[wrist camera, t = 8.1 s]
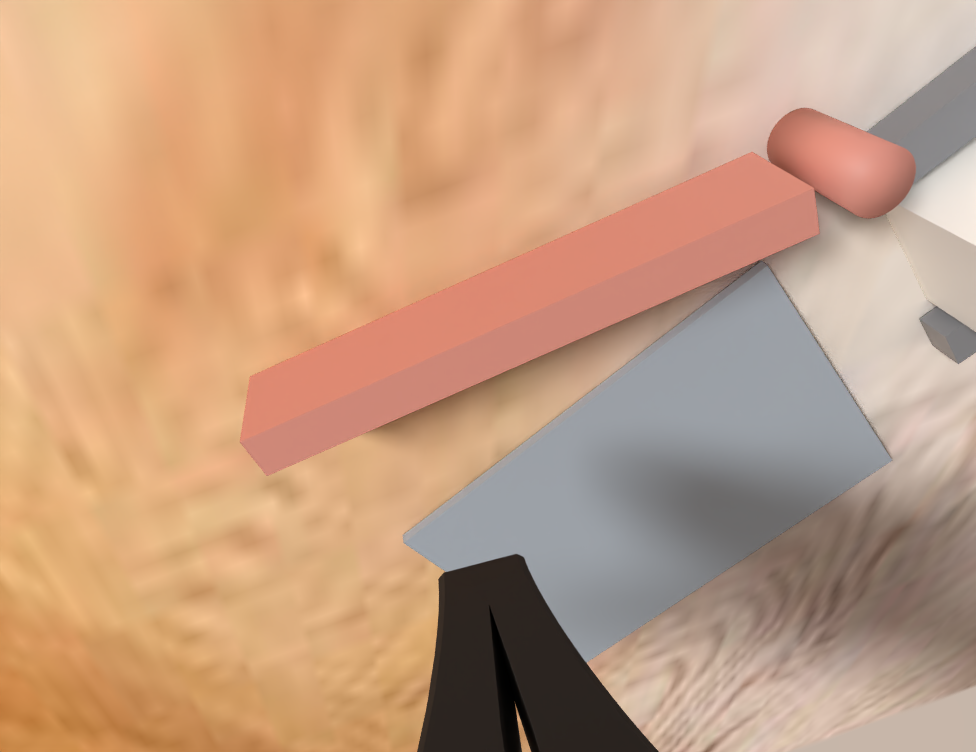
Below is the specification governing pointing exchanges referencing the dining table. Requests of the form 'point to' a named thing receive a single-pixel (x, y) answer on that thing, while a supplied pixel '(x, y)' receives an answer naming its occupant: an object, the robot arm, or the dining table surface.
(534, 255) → the pink flat bar
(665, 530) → the slate mat
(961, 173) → the plug
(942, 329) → the bracket
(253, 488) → the dining table surface
